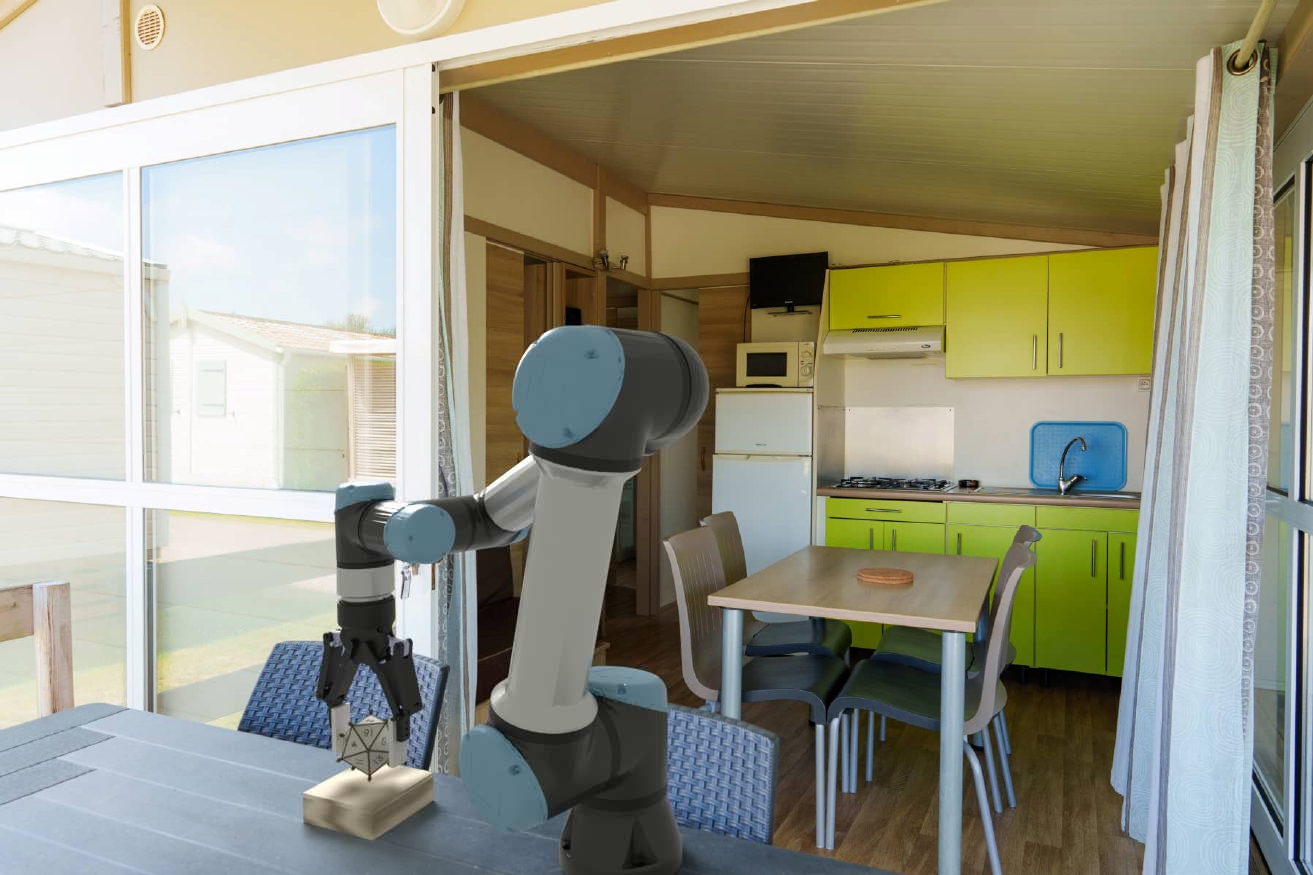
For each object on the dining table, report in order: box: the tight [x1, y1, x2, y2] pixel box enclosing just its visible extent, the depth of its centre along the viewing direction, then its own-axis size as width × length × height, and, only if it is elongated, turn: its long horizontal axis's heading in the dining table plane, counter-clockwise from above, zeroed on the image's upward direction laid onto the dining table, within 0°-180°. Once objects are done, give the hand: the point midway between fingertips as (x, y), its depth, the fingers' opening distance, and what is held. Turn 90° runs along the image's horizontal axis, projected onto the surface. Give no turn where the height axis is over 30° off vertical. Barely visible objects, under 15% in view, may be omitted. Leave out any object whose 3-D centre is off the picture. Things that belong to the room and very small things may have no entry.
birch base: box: [302, 764, 435, 841], centre depth 117 cm, size 12×12×4 cm
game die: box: [335, 708, 390, 783], centre depth 116 cm, size 9×8×10 cm
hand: (369, 757), depth 116 cm, fingers closed on game die, 9 cm apart
